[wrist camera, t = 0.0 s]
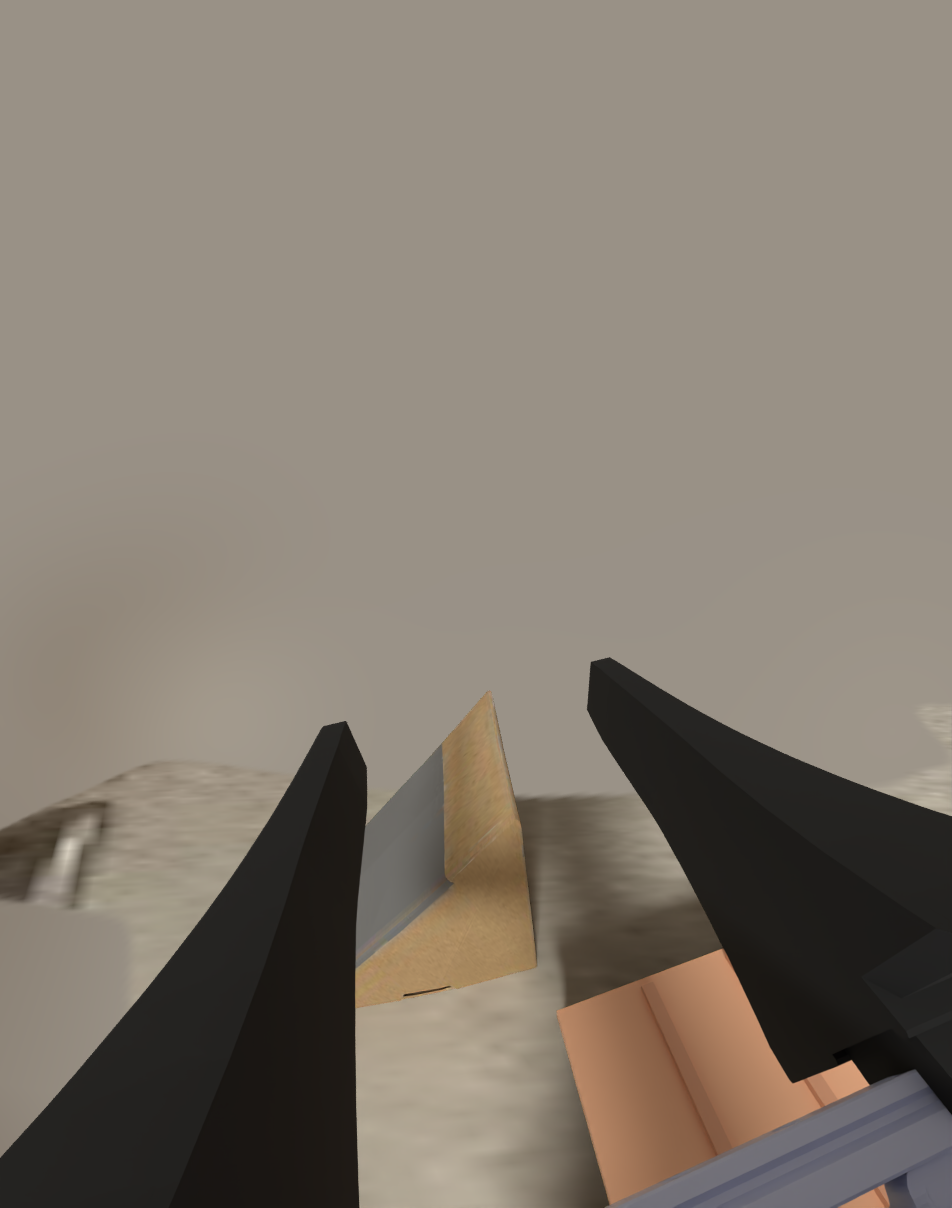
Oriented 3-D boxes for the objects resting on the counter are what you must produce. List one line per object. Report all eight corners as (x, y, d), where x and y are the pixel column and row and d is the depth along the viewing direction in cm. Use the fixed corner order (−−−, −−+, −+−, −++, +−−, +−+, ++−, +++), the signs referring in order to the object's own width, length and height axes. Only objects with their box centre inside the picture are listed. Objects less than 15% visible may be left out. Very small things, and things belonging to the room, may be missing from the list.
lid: (1320, 1359, 9) (1439, 1366, 8) (765, 1765, 7) (807, 1865, 6) (858, 902, 19) (879, 872, 18) (556, 1016, 17) (555, 991, 15)
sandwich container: (324, 863, 28) (246, 727, 21) (510, 828, 28) (491, 685, 22) (281, 1026, 20) (137, 891, 14) (538, 973, 21) (521, 819, 14)
